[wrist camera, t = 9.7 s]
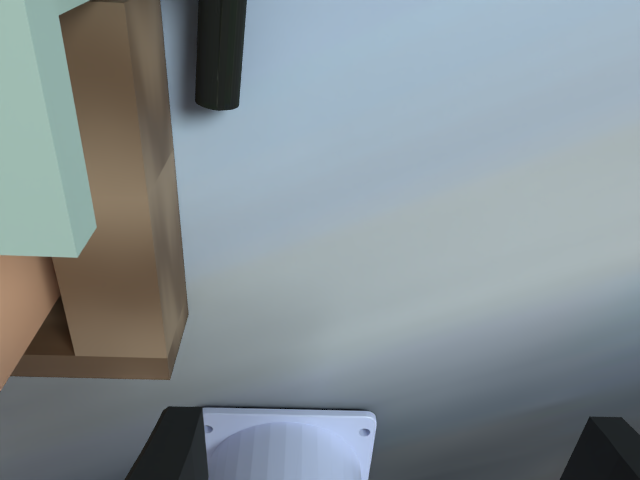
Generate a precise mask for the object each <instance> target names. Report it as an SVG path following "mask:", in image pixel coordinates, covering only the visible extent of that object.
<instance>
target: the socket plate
mask: <svg viewBox="0 0 640 480" xmlns="http://www.w3.org/2000/svg"><path fill="white" fill-rule="evenodd" d="M59 21H60V26H61V32H62V38H63V43H64V49H65V54H66V60H67V65H68V71H69V76H70V82H71V87H72V93H73V98H74V104H75V109H76V115H77V120H78V126H79V132H80V137H81V143H82V148H83V154H84V159H85V165H86V170H87V176H88V181H89V187H90V192H91V198H92V203H93V209H94V214H95V220H96V226H97V228H96V229H95V231H94V233H93V234H92V236H91V237H90V239H89V240H88V242H87V244H86V245H85V247H84V248H83V250H82V251H81V253H80V255H79V256H78V258H72V257H52V260H53V264H54V268H55V272H56V276H57V281H58V285H59V289H60V293H61V294H60V296H59V298H58V299H57V301H56V302H55V304H54V306H53V307H52V309H51V311H50V312H49V314H48V315H47V317H46V319H45V320H44V322H43V323H42V325H41V327H40V328H39V330H38V332H37V333H36V335H35V336H34V338H33V340H32V341H31V343H30V344H29V346H28V348H27V349H26V351H25V353H24V354H23V356H22V357H21V359H20V361H19V362H18V364H17V365H16V367H15V369H14V370H13V372H12V374H11V375H10V376H25V377H68V378H110V379H152V380H170V378H171V374H172V371H173V367H174V364H175V360H176V357H177V353H178V350H179V346H180V343H181V339H182V336H183V332H184V328H185V325H186V321H187V318H188V304H187V293H186V282H185V271H184V259H183V248H182V237H181V226H180V215H179V204H178V193H177V182H176V170H175V159H174V148H173V137H172V126H171V115H170V104H169V93H168V81H167V70H166V59H165V48H164V37H163V26H162V15H161V4H160V0H89V1H87V2H85V3H83V4H81V5H79V6H77V7H75V8H73V9H71V10H69V11H67V12H65V13H63V14H61V15H59Z"/></svg>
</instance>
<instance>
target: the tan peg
mask: <svg viewBox="0 0 640 480" xmlns="http://www.w3.org/2000/svg"><path fill="white" fill-rule="evenodd" d="M60 294H61V293H60V289H59V285H58V281H57V276H56V272H55V268H54V264H53V260H52V257H42V256H12V255H0V391H1V390H2V388H3V386H4V385H5V383H6V382H7V380H8V378H9V377H10V375H11V374H12V372H13V370H14V369H15V367H16V365H17V364H18V362H19V361H20V359H21V357H22V356H23V354H24V353H25V351H26V349H27V348H28V346H29V344H30V343H31V341H32V340H33V338H34V336H35V335H36V333H37V332H38V330H39V328H40V327H41V325H42V323H43V322H44V320H45V319H46V317H47V315H48V314H49V312H50V311H51V309H52V307H53V306H54V304H55V302H56V301H57V299H58V298H59V296H60Z"/></svg>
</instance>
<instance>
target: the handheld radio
mask: <svg viewBox="0 0 640 480" xmlns="http://www.w3.org/2000/svg"><path fill="white" fill-rule="evenodd" d="M246 4H247V0H199V3H198V32H197V62H196V91H195V102H196V103H197V104H198V105H200V106H202V107H205V108H208V109H212V110H218V111H220V110H231V109H235V108H237V107H238V106H239V97H240V84H241V71H242V57H243V44H244V31H245V18H246Z"/></svg>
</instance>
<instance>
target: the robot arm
mask: <svg viewBox="0 0 640 480" xmlns="http://www.w3.org/2000/svg"><path fill="white" fill-rule="evenodd" d="M205 425H208V426H205ZM376 425H377V423H376V416H375V415H374V413H372V412H369V411H347V410H301V409H255V408H209V407H207V408H202V407H172V406H169V407H167V408H166V409H165V410H163V412H162V414H161V416H160V418H159V420H158V422H157V424H156V426H155V428H154V430H153V431H152V433H151V435H150V437H149V439H148V441H147V442H146V444H145V446H144V448H143V450H142V451H141V453H140V455H139V457H138V458H137V460H136V462H135V463H134V465H133V467H132V468H131V470H130V472H129V473H128V475H127V477H126V478H125V480H368V476H369V470H370V464H371V457H372V451H373V444H374V438H375V432H376ZM560 480H640V435H639V434H638V433H637V432H636V431H635V430H634V429H633V428H632V427H631V426H630V425H629V424H628V423H627V422H626V421H625V420H624V419H623V418H622V417H589V419H588V421H587V423H586V425H585V428H584V430H583V432H582V434H581V436H580V438H579V440H578V442H577V444H576V447H575V449H574V451H573V453H572V455H571V457H570V459H569V461H568V463H567V466H566V468H565V470H564V472H563V474H562V476H561V478H560Z"/></svg>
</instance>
